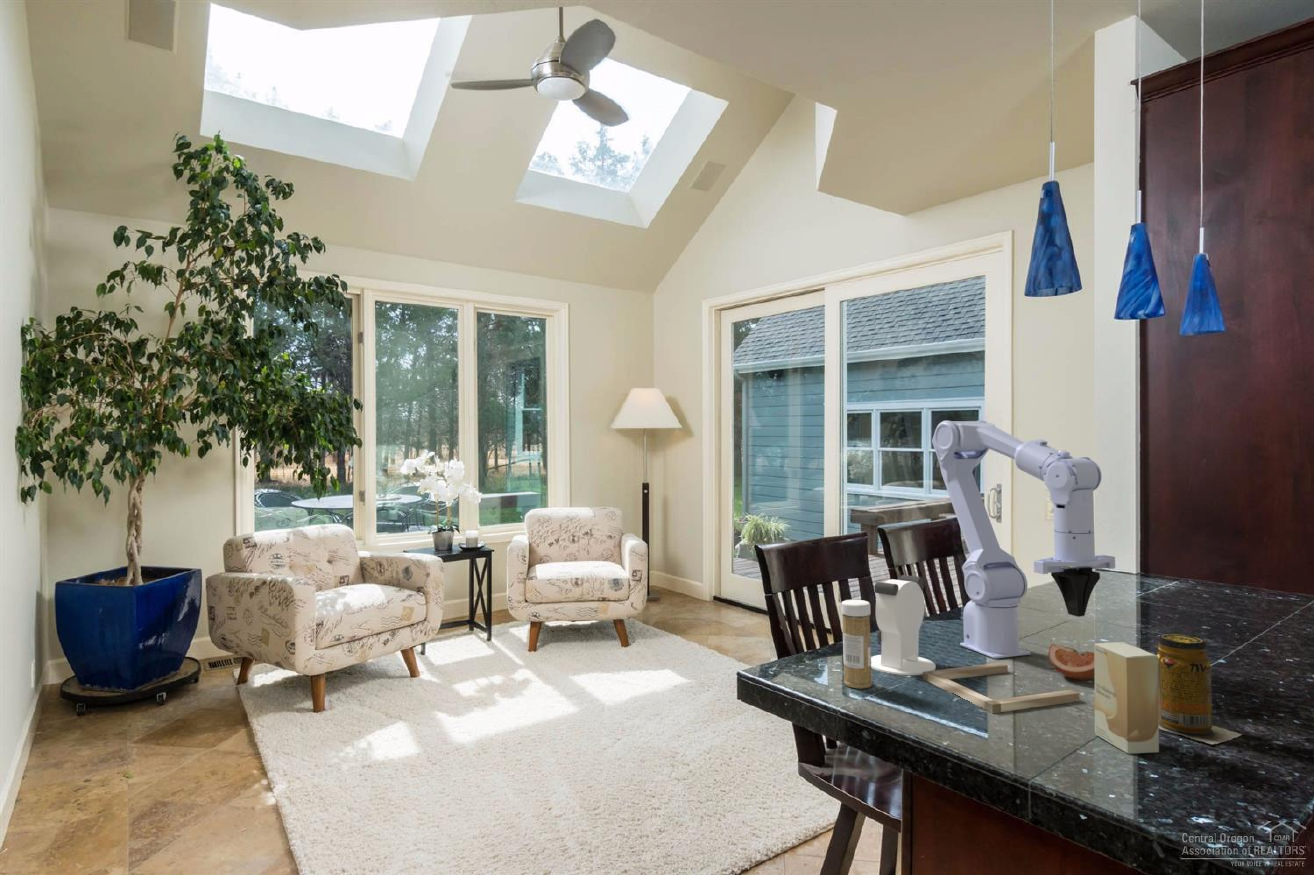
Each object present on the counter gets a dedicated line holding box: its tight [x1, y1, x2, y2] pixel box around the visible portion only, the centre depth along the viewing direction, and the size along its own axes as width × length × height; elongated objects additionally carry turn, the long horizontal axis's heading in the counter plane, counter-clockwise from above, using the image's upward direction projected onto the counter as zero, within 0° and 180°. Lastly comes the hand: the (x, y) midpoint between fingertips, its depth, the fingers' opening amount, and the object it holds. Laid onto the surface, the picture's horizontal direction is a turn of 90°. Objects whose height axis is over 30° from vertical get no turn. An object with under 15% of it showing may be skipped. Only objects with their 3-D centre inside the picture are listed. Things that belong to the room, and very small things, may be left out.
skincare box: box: [1093, 641, 1160, 755], centre depth 92 cm, size 6×4×12 cm
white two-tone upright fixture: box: [871, 574, 937, 676], centre depth 126 cm, size 12×11×15 cm
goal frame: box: [922, 662, 1080, 714], centre depth 112 cm, size 16×16×1 cm
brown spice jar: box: [840, 599, 873, 690], centre depth 116 cm, size 5×5×13 cm
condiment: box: [1156, 633, 1243, 745], centre depth 96 cm, size 7×8×12 cm
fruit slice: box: [1048, 643, 1095, 681], centre depth 117 cm, size 8×7×5 cm
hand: (1076, 615), depth 117 cm, fingers closed
